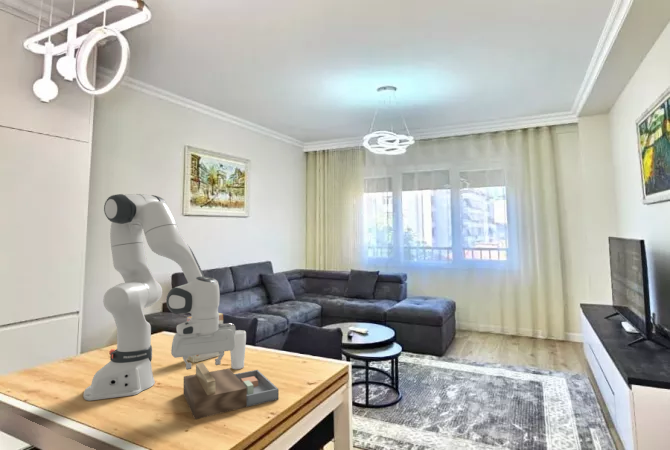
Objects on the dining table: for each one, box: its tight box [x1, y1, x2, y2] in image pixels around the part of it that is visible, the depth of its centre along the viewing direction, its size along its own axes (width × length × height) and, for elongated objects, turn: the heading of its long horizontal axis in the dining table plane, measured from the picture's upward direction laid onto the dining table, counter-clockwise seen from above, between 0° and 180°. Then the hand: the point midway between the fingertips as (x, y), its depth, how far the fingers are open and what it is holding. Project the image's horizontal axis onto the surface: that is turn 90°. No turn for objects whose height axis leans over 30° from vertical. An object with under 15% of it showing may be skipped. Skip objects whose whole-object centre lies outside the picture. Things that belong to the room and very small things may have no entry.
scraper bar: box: [195, 362, 215, 395], centre depth 124 cm, size 2×20×4 cm, turn 31°
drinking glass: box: [229, 329, 247, 370], centre depth 157 cm, size 7×7×15 cm
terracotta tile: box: [241, 376, 258, 387], centre depth 136 cm, size 5×5×2 cm
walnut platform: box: [183, 368, 248, 420], centre depth 125 cm, size 16×22×6 cm
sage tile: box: [243, 380, 253, 395], centre depth 125 cm, size 5×5×2 cm
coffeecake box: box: [186, 312, 224, 364], centre depth 172 cm, size 15×7×20 cm, turn 141°
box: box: [234, 369, 280, 408], centre depth 132 cm, size 11×22×4 cm, turn 30°
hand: (203, 366), depth 124 cm, fingers open, 8 cm apart
